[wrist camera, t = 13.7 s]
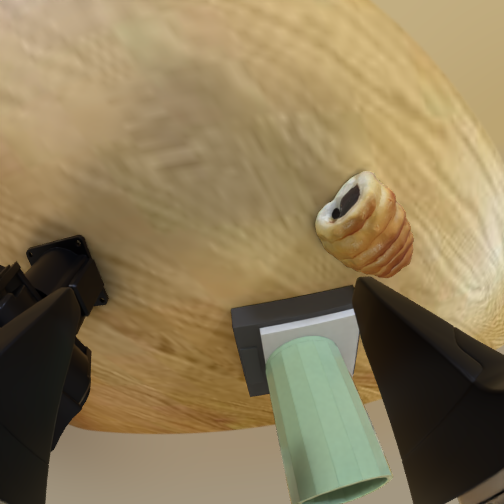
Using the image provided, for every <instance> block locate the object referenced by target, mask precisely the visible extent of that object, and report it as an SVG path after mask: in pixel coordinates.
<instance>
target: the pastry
mask: <svg viewBox="0 0 504 504" xmlns="http://www.w3.org/2000/svg"><path fill="white" fill-rule="evenodd" d="M315 228H316V233H317V236H318V237H319V238H320V240H321V242H322V244H323V247H324V249H325V250H326V251H327V252H328V253H330V254H332V255H333V256H334V257H335V258H337V259H338V260H340V261H341V262H342V263H343V264H344V265H345V266H347V267H350V268H352V269H354V270H356V271H358V272H363V273H365V274H372V275H375V276H378V277H381V278H389V277H392V276H394V275H395V274H396V273H398V272H399V271H400V270H401V269H402V268H403V267H405V266H407V265H409V264H410V262H411V257H412V253H413V241H414V238H413V234H412V232H411V231H410V230H411V226H410V224H409V222H408V220H407V219H406V212H405V210H404V208H403V206H402V205H401V204H400V203H399V202H397V201H396V197H395V194H394V193H393V192H392V191H391V190H390V189H389V188H388V187H387V186H385V185H383V184H382V183H381V182H380V181H379V180H378V179H377V177H376V176H375V174H374V173H373V172H370V171H364V172H362V173H360V174H357V175H355V176H354V177H352V178H351V179H349V180H348V181H347V182H346V183H345V184H344V185H343V186H342V188H341V189H340V191H339V192H338V193H337V195H336V197H335V199H334V200H333V201H332V202H330V203H328V204H327V205H325V206H324V207H323V208H322V210H321V211H320V212H319V213H318V215H317V219H316V222H315Z"/></svg>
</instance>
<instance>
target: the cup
mask: <svg viewBox="0 0 504 504" xmlns="http://www.w3.org/2000/svg"><path fill="white" fill-rule="evenodd" d="M265 372H266V377H267V383H268V388H269V394H270V399H271V404H272V409H273V414H274V420H275V425H276V430H277V435H278V440H279V445H280V450H281V455H282V461H283V465H284V471H285V475H286V481H287V486H288V490H289V495H290V501H291V504H343V503H347V502H350V501H352V500H355V499H358V498H360V497H363V496H365V495H367V494H369V493H372V492H374V491H375V490H377V489H379V488H381V487H382V486H384V485H385V484H387V483H388V482H389V481H390V480H391V479H392V478H393V474H392V472H391V470H390V467H389V464H388V462H387V460H386V457H385V454H384V452H383V449H382V447H381V445H380V442H379V439H378V437H377V435H376V433H375V430H374V427H373V425H372V423H371V420H370V418H369V416H368V413H367V411H366V409H365V406H364V404H363V401H362V399H361V397H360V394H359V392H358V390H357V388H356V385H355V383H354V381H353V378H352V376H351V374H350V372H349V369H348V367H347V365H346V363H345V360H344V358H343V356H342V354H341V352H340V350H339V348H338V346H337V345H336V343H335V342H333V341H332V340H330V339H328V338H326V337H322V336H306V337H300V338H297V339H294V340H291V341H289V342H287V343H285V344H283V345H281V346H280V347H278V348H277V349H276V350H275V351H274V352H273V353H272V354H271V355H270V356H269V358H268V360H267V362H266V365H265Z"/></svg>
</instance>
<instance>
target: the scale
mask: <svg viewBox="0 0 504 504" xmlns="http://www.w3.org/2000/svg"><path fill="white" fill-rule="evenodd" d="M354 289H355V288H354V287H353V285H352V286H348V287H343V288H338V289H334V290H329V291H324V292H319V293H315V294H310V295H305V296H300V297H294V298H289V299H284V300H279V301H273V302H268V303H262V304H257V305H251V306H245V307H239V308H233V309H231V316H232V327H233V332H234V336H235V340H236V344H237V348H238V352H239V356H240V360H241V364H242V367H243V371H244V375H245V379H246V383H247V387H248V390H249V394H250V397H253V396H259V395H265V394H269V388H268V383H267V377H266V372H265V365H266V362H267V360H268V358H269V356H270V355H271V354H272V353H273V352H274V351H275V350H276V349H277V348H278V347H280V346H281V345H283V344H285V343H287V342H289V341H291V340H294V339H297V338H300V337H306V336H322V337H326V338H328V339H330V340H332V341H333V342H335V343H336V345H337V346H338V348H339V350H340V352H341V354H342V356H343V358H344V360H345V363H346V365H347V367H348V369H349V372H350V374H351V376H353V374H354V368H355V362H356V356H357V349H358V342H359V335H360V332H359V328H358V324H357V321H356V317H355V313H354V310H353V306H352V297H353V293H354Z"/></svg>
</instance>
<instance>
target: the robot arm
mask: <svg viewBox="0 0 504 504" xmlns="http://www.w3.org/2000/svg"><path fill="white" fill-rule="evenodd" d="M77 240H79V241H80V242H81V244H79V243H78V242H77ZM30 252H31V253H32V255H31V253H30ZM26 255H27V258H28V260H29V262H30V264H31V267H30V269H29V270H28V271H27V272H26V273H25V274H24V273H23V272H22V271H21V269H20V268H21V267H20V265H19V264H18V263H17V261H16V262H15V263H14V264H13V265H12V266H11V267H10V265H8V266H7V267H4V266H1V265H0V504H45V500H46V487H47V476H48V468H49V465H48V464H49V459H50V452H51V451H52V450H54V448H55V446H56V444H57V442H58V440H59V438H60V436H61V434H62V433H63V431H64V429H65V427H66V426H67V425H68V424H69V422H70V421H71V420H72V418H73V417H74V416H75V415H76V414H78V413H79V412H80V411H81V409H82V406H83V405H84V403H85V402H86V400H87V398H88V395H89V392H90V385H91V350H90V349H89V348H88V347H87V346H84V345H83V344H82V343H81V342H80V341H79V340H78V339H77V338H76V334H77V333H78V331H79V329H80V327H81V325H82V323H83V321H84V319H85V317H87V316H89V314H90V312H91V310H92V308H93V306H100V305H105V304H107V302H108V299H109V298H108V295H107V293H106V291H105V289H104V283H103V281H102V279H101V276H100V274H99V272H98V269H97V267H96V264H95V262H94V260H93V259H92V257H91V255H90V252H89V249H88V247H87V244H86V241H85V239H84V237H83V236H81V235H77V236H73V237H69V238H65V239H61V240H57V241H53V242H50V243H46V244H42V245H38V246H35V247H31V248H29V249H28V250H27V252H26ZM101 298H103V299H104V300H103V299H101ZM352 306H353V310H354V313H355V317H356V321H357V324H358V328H359V332H360V336H361V340H362V343H363V346H364V349H365V352H366V355H367V357H368V360H369V363H370V365H371V368H372V371H373V374H374V376H375V379H376V382H377V385H378V388H379V390H380V393H381V396H382V399H383V402H384V405H385V408H386V411H387V414H388V417H389V420H390V423H391V426H392V429H393V432H394V436H395V439H396V442H397V445H398V449H399V452H400V455H401V459H402V463H403V466H404V470H405V474H406V477H407V481H408V485H409V488H410V492H411V496H412V500H413V504H445V503H447V502H449V501H451V500H453V499H454V498H456V497H457V498H458V501H459V504H504V355H503V354H501V353H499V352H497V351H496V350H494V349H492V348H490V347H488V346H486V345H485V344H483V343H481V342H479V341H477V340H476V339H474V338H472V337H471V336H469V335H467V334H466V333H464V332H462V331H461V330H459V329H458V328H456V327H453V325H451V324H449V323H448V322H446V321H445V320H443V319H441V318H440V317H438V316H436V315H435V314H433V313H431V312H430V311H428V310H426V309H425V308H423V307H421V306H420V305H418V304H416V303H415V302H413V301H411V300H410V299H408V298H406V297H405V296H403V295H401V294H400V293H398V292H396V291H394V290H393V289H391V288H389V287H388V286H386V285H384V284H382V283H381V282H379V281H377V280H375V279H374V278H372V277H359V278H358V279H357V281H356V285H355V289H354V293H353V297H352Z"/></svg>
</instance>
